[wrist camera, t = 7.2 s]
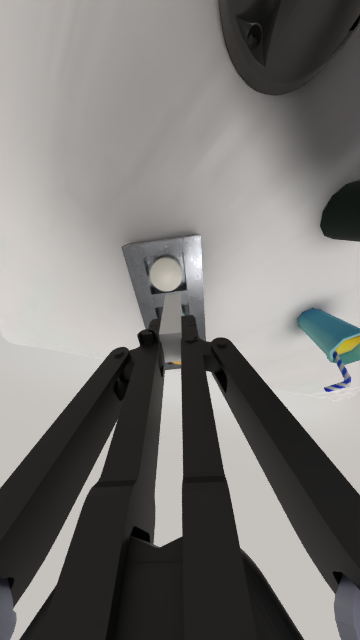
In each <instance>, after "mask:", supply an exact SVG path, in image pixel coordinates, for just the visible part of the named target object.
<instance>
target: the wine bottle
mask: <svg viewBox="0 0 360 640" xmlns="http://www.w3.org/2000/svg"><path fill="white" fill-rule="evenodd" d="M320 227H321V229H322V231H323V234H324V236H327V237H329V238H332V239H338V240H349V241H360V180H359V181H356V182H352V183H349V184H346V185H345V186H344V187H343V188H342V189H340V190H339V191H338V192H337V193H336V194H334V195H333V196H332V198H331V199H330V201H329V203H328V204H327V206H326V207H325V209H324V211H323V213H322V219H321V224H320Z"/></svg>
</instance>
